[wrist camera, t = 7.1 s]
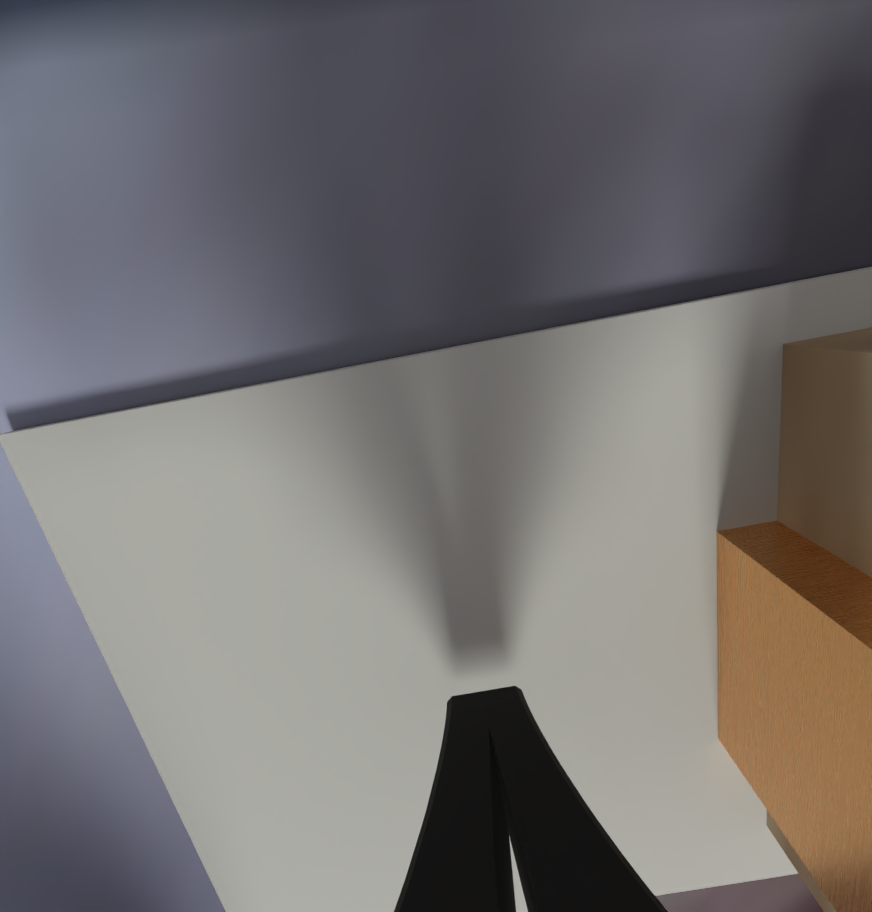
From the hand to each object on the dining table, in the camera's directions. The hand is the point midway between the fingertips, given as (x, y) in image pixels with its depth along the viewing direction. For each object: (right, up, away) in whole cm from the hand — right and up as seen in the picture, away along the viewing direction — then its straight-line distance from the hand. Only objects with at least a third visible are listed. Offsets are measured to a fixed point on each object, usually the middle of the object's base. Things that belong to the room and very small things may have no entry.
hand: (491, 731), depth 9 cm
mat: (+2, 0, +2) cm, 2 cm away
